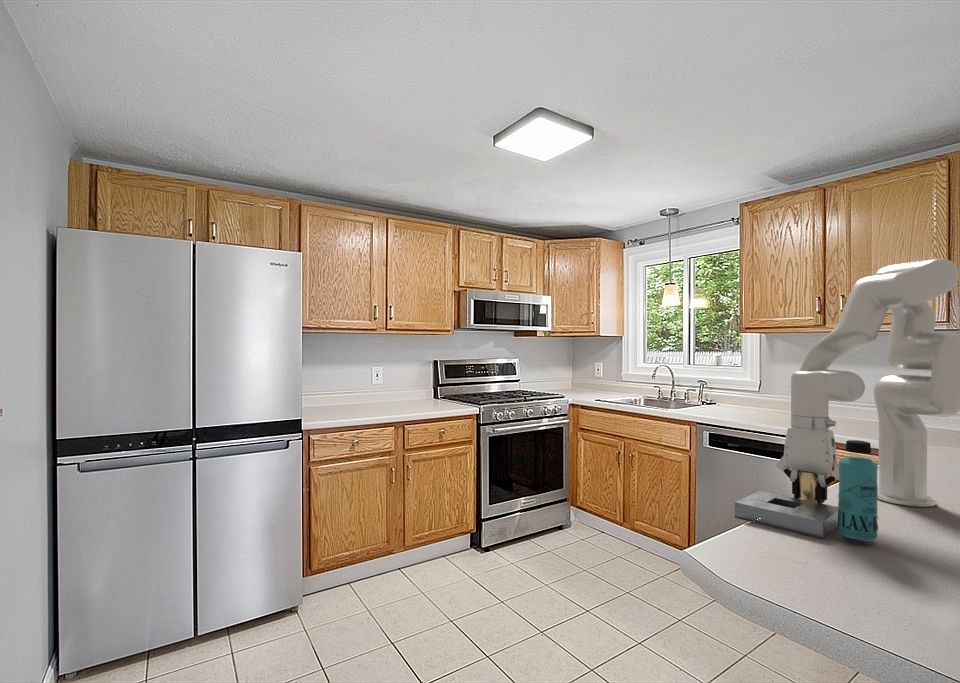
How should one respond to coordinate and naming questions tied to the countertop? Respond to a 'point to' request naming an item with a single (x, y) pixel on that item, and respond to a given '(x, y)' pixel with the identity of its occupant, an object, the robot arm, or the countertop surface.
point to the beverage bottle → (858, 493)
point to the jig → (788, 514)
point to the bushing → (808, 486)
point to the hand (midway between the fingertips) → (809, 499)
